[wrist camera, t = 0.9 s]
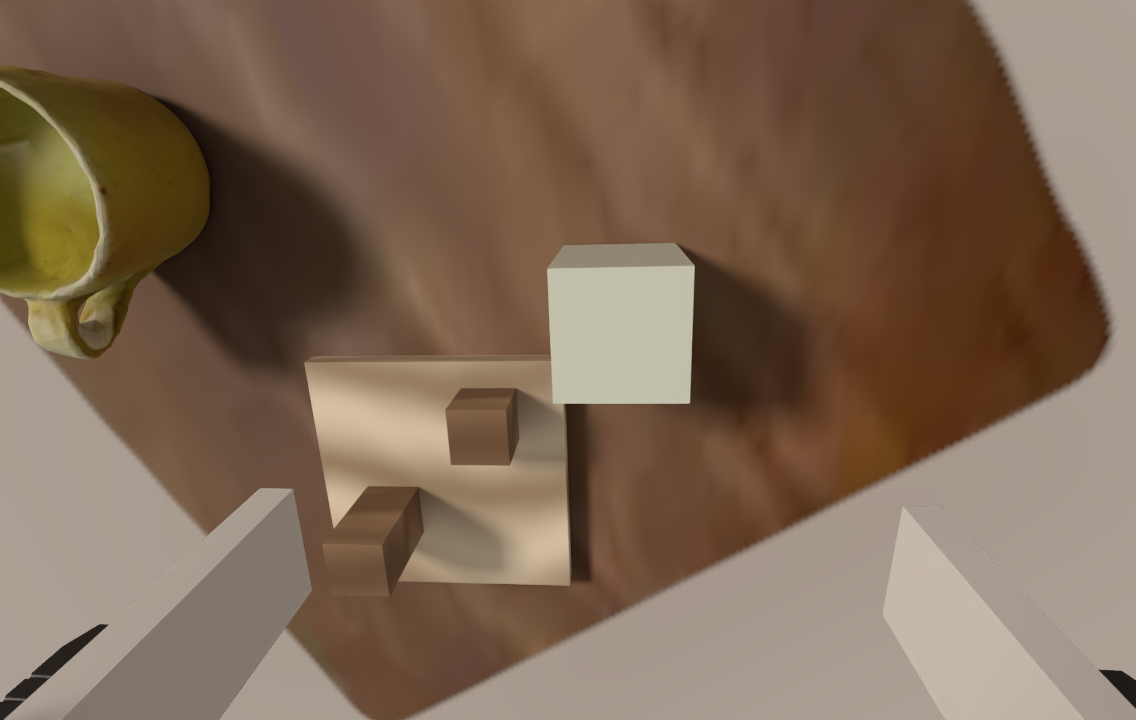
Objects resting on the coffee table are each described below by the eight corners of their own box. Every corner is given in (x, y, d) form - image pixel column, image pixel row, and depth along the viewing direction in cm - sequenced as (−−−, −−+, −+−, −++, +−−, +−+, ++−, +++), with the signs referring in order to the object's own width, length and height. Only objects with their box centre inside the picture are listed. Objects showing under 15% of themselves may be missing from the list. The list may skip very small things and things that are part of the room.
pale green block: (564, 245, 30) (547, 268, 22) (675, 242, 29) (694, 265, 22) (567, 350, 31) (552, 403, 24) (672, 349, 31) (689, 403, 24)
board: (315, 355, 33) (273, 381, 29) (563, 354, 31) (556, 380, 27) (351, 566, 37) (318, 614, 33) (571, 572, 36) (565, 622, 32)
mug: (-25, 21, 27) (-230, 40, 19) (224, 78, 30) (142, 116, 22) (29, 264, 33) (-108, 360, 25) (232, 292, 36) (170, 386, 28)
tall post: (367, 486, 34) (321, 543, 28) (418, 486, 33) (381, 544, 28) (374, 531, 34) (331, 595, 29) (424, 531, 34) (389, 596, 29)
